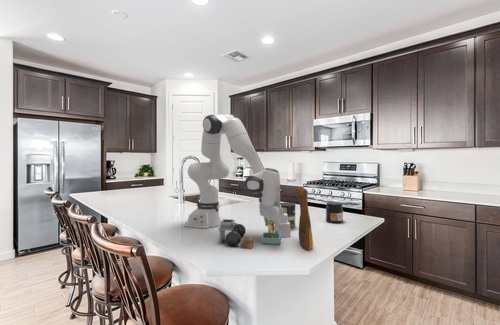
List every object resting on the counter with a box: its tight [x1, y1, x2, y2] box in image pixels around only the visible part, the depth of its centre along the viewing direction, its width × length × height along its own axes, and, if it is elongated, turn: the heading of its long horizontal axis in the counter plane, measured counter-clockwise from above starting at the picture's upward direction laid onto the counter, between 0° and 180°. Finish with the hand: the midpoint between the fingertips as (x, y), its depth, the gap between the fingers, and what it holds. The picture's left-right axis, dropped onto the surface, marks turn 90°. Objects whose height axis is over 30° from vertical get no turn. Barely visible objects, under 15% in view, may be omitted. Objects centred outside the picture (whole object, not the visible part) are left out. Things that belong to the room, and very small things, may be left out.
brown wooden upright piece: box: [294, 185, 314, 251], centre depth 120 cm, size 7×19×28 cm, turn 177°
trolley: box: [218, 218, 246, 248], centre depth 126 cm, size 11×15×10 cm
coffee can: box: [280, 202, 296, 231], centre depth 149 cm, size 10×10×14 cm
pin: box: [267, 219, 275, 238], centre depth 125 cm, size 4×4×10 cm
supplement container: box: [325, 201, 344, 224], centre depth 161 cm, size 10×10×12 cm
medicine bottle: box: [274, 212, 291, 238], centre depth 135 cm, size 7×7×12 cm
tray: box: [261, 231, 282, 246], centre depth 125 cm, size 9×9×3 cm
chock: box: [240, 236, 254, 250], centre depth 118 cm, size 5×4×4 cm
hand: (271, 228), depth 125 cm, fingers open, 8 cm apart
